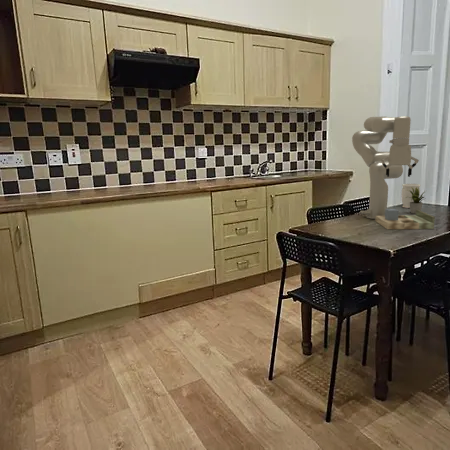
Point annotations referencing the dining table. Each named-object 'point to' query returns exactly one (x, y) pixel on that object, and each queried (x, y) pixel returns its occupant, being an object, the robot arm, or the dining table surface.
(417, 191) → the house plant
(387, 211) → the block
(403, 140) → the robot arm
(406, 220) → the board
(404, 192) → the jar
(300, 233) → the dining table surface
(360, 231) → the dining table surface
